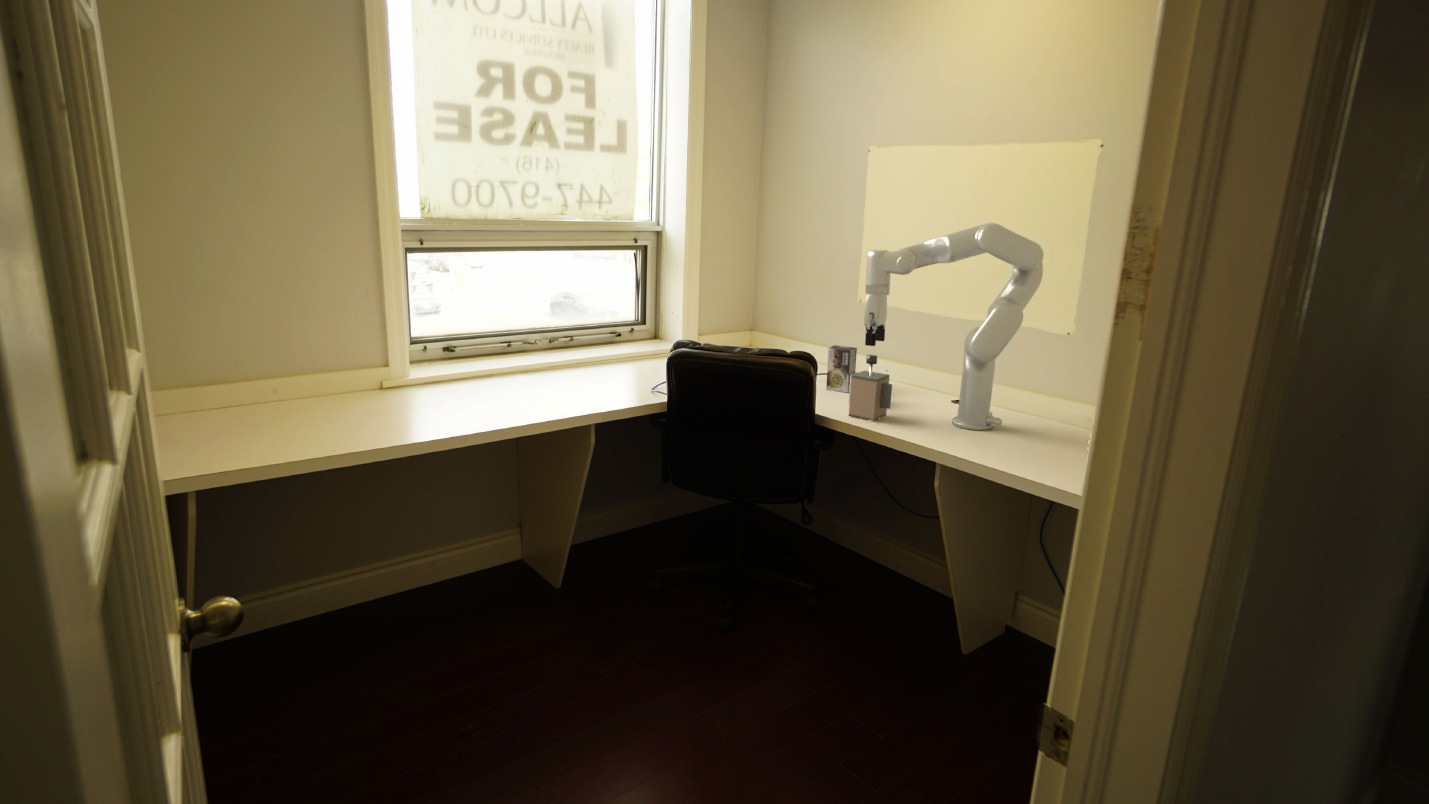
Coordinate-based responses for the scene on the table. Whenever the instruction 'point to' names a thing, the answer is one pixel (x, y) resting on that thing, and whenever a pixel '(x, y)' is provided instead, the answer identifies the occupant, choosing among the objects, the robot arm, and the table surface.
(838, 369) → the coffee box
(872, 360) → the lever with black knob
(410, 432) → the table surface
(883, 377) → the tan lever base
